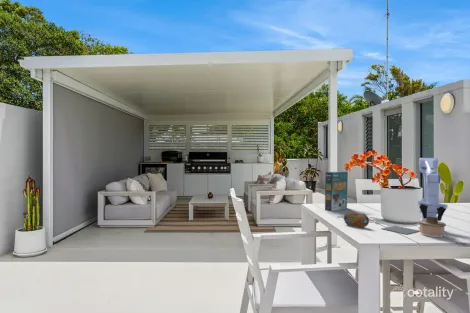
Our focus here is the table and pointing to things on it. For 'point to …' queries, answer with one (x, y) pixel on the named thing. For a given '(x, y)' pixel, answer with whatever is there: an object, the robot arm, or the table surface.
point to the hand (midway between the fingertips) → (432, 219)
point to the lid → (432, 222)
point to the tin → (356, 219)
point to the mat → (400, 230)
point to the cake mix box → (336, 190)
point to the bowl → (431, 231)
